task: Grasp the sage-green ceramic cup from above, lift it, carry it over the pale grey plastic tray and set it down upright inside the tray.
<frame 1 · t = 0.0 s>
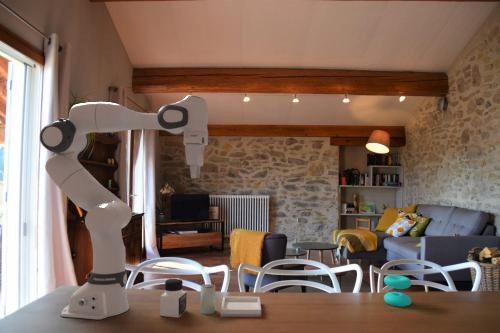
hand: (195, 178, 137), 48 cm above the table, tool pointing down, fingers open, 8 cm apart
medicine bottle: (173, 314, 133), on the table
grey tray: (241, 309, 137), on the table
donuts: (397, 303, 146), on the table
sage cup: (207, 311, 135), on the table
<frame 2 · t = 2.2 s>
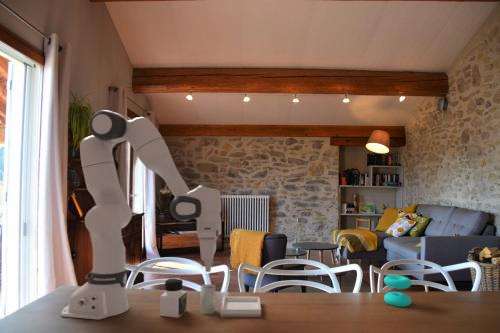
hand: (209, 268, 135), 16 cm above the table, tool pointing down, fingers open, 8 cm apart
nothing on the table moved.
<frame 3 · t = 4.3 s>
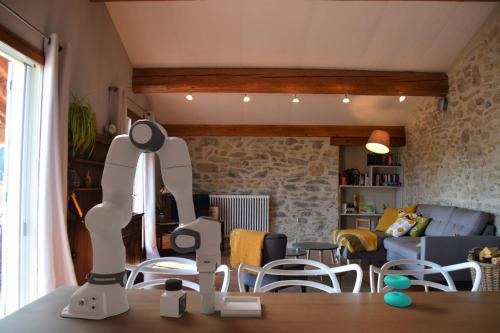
hand: (207, 300, 135), 4 cm above the table, tool pointing down, fingers closed on sage cup, 5 cm apart
sage cup: (207, 311, 135), on the table, touching gripper
everything else where it was.
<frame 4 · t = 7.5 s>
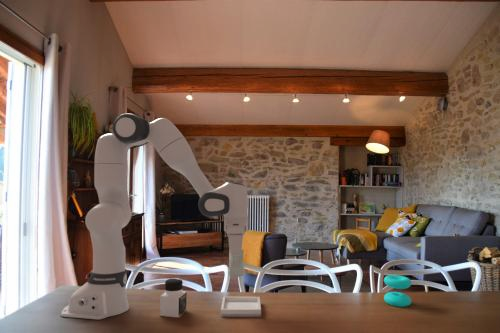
hand: (236, 263, 137), 17 cm above the table, tool pointing down, fingers closed on sage cup, 5 cm apart
sage cup: (236, 274, 137), point 13 cm above the table, touching gripper
everything else where it was.
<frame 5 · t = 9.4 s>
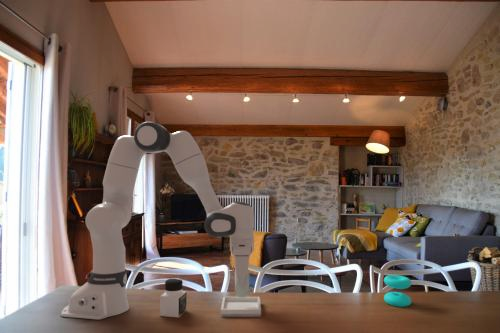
hand: (241, 283, 137), 9 cm above the table, tool pointing down, fingers closed on sage cup, 5 cm apart
sage cup: (241, 294, 137), point 5 cm above the table, touching gripper
everything else where it was.
when the fingers open (7 cm above the table, at t = 11.0 s): sage cup drops 1 cm, resting on grey tray.
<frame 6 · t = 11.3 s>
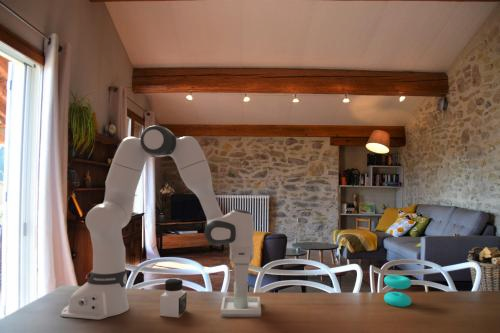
hand: (241, 291, 137), 7 cm above the table, tool pointing down, fingers open, 8 cm apart
sage cup: (241, 306, 137), point 1 cm above the table, touching grey tray
everything else where it was.
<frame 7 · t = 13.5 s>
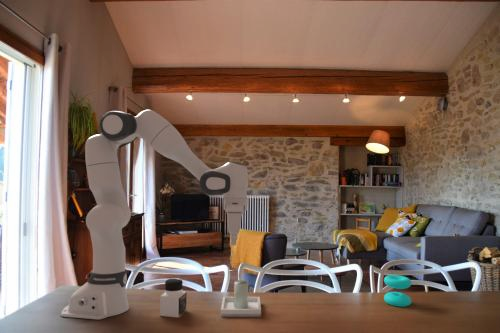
hand: (234, 242, 139), 24 cm above the table, tool pointing down, fingers open, 8 cm apart
nothing on the table moved.
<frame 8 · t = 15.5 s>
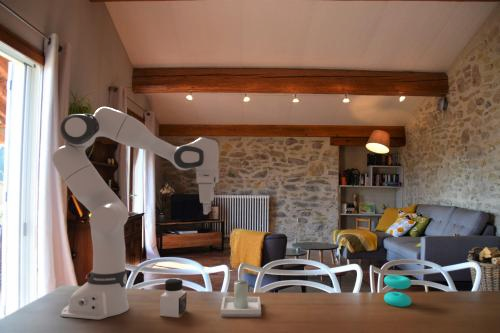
hand: (207, 213, 149), 34 cm above the table, tool pointing down, fingers open, 8 cm apart
nothing on the table moved.
at the end: sage cup inside the target area on the grey tray (0.0 cm from its centre), point 1.0 cm above the grey tray's base; sage cup tilted 0°; the gripper is holding nothing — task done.
